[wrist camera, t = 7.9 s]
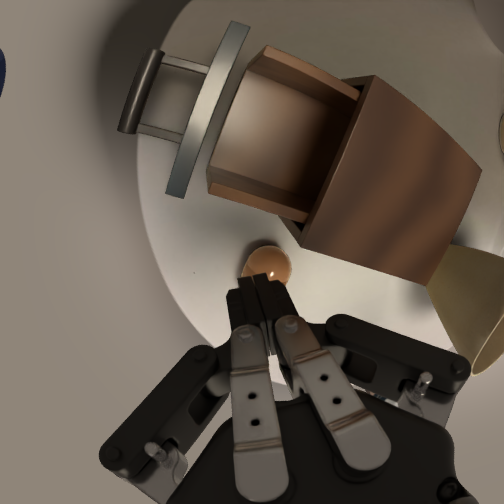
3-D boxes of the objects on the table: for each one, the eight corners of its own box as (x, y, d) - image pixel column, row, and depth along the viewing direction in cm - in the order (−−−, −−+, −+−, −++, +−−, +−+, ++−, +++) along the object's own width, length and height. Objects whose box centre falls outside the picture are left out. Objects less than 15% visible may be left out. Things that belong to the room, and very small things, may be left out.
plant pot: (445, 304, 40) (499, 364, 26) (388, 306, 36) (450, 388, 22) (480, 227, 34) (550, 277, 20) (429, 209, 30) (524, 273, 16)
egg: (267, 294, 31) (277, 319, 27) (230, 286, 30) (235, 312, 26) (291, 244, 29) (305, 265, 25) (251, 232, 27) (260, 253, 24)
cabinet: (269, 204, 26) (300, 247, 18) (319, 83, 22) (374, 74, 14) (379, 244, 31) (426, 286, 23) (423, 149, 26) (482, 170, 18)
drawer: (124, 157, 21) (94, 175, 15) (168, 33, 17) (156, 2, 10) (313, 215, 27) (348, 249, 20) (359, 109, 22) (409, 113, 16)
